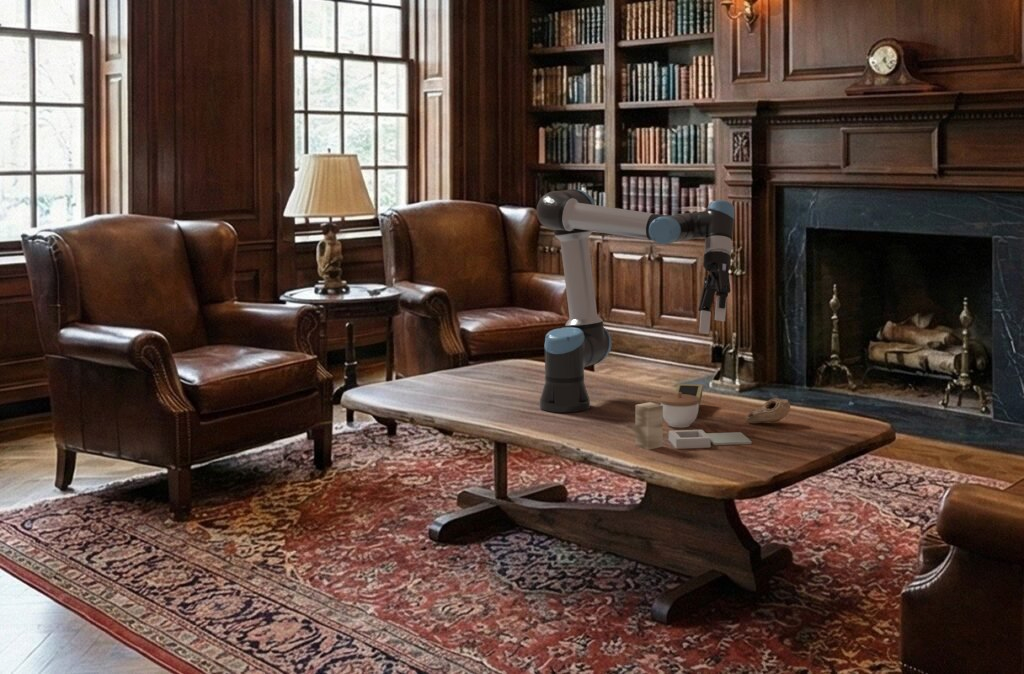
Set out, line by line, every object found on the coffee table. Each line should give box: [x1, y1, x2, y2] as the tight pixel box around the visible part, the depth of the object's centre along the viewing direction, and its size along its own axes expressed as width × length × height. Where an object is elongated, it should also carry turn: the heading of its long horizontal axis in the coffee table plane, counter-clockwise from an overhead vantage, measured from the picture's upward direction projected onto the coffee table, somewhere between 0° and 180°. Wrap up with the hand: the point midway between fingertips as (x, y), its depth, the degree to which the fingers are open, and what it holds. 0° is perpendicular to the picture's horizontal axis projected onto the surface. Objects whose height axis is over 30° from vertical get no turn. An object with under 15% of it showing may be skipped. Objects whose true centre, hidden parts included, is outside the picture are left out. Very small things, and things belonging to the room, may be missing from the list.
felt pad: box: [705, 431, 752, 446], centre depth 300 cm, size 10×10×1 cm
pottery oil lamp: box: [745, 397, 791, 425], centre depth 317 cm, size 9×12×7 cm
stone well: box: [668, 429, 712, 450], centre depth 297 cm, size 9×9×2 cm
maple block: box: [634, 401, 664, 451], centre depth 294 cm, size 5×5×11 cm
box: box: [674, 383, 704, 419], centre depth 332 cm, size 8×22×5 cm, turn 167°
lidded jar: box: [660, 392, 700, 428], centre depth 316 cm, size 11×11×9 cm
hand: (711, 327), depth 310 cm, fingers open, 13 cm apart
